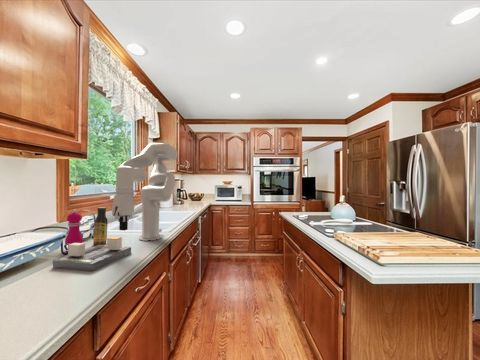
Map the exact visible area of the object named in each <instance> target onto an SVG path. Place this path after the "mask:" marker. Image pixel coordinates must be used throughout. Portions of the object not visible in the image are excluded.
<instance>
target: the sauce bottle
mask: <svg viewBox="0 0 480 360" xmlns="http://www.w3.org/2000/svg"><path fill="white" fill-rule="evenodd" d="M106 211H107V207H106V206H102V207H101V206H99V207H97V216H96V218H95V219H94V224H93V239H92V240H93V241H92V242H93V245H94V246H96V245H106V244H107V238H108V220H109V219H108V218H107V217H106V216H107V215H106Z"/></svg>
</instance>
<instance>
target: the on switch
mask: <svg viewBox="0 0 480 360" xmlns="http://www.w3.org/2000/svg"><path fill="white" fill-rule="evenodd" d="M85 249H86V243H85V242H84V243H83V242H82V243H72V244H69V245H68V252H67V255H68V256H81V255H84V254H85Z"/></svg>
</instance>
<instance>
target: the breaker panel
mask: <svg viewBox="0 0 480 360" xmlns="http://www.w3.org/2000/svg"><path fill="white" fill-rule="evenodd" d="M131 254H132V246H123V245H122V248H121V249H118V250H109V249H107V244H102V245H94V246H90V247H88V248H85V254H84V255H81V256H68V254H67V255H64V256H61V257H59V258H55V259H53V260H52V268H53V269H59V270H60V269H61V270H69V271H70V270H72V271H83V272H93V273H94V272H95V271H96V270H99V269H102V268H103V267H105V266H107V265H109V264H112V263H113V262H116V261H118V260H120V259H122V258H124V257H127V256H128V255H131Z"/></svg>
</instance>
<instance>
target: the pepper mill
mask: <svg viewBox="0 0 480 360" xmlns="http://www.w3.org/2000/svg"><path fill="white" fill-rule="evenodd" d="M82 219H83V216H82V214H81V213H80V212H78V211H77V209H72V212H71V213H69V214H68V215H67V216H66V221H67V222H68V223H67V226H68V228H69V229H68V232H67V235H66V237H65V240H64V244H65V245H66V244H67V243H70V244H72V243H83V242H84V238H83V235H82V233H81V231H80V230H81V229H80V225H81V221H82Z"/></svg>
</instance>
